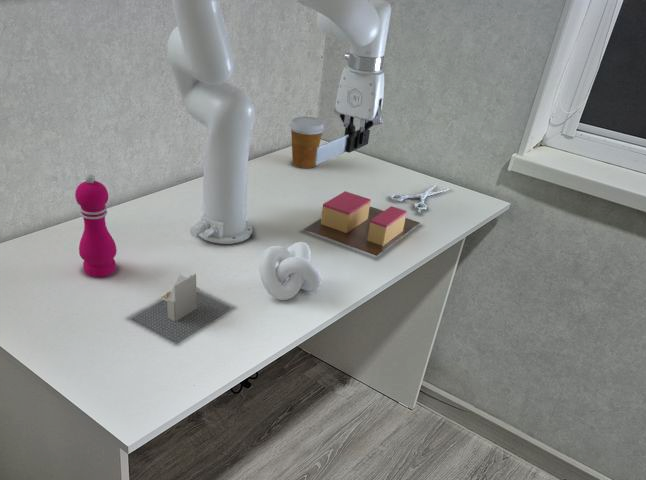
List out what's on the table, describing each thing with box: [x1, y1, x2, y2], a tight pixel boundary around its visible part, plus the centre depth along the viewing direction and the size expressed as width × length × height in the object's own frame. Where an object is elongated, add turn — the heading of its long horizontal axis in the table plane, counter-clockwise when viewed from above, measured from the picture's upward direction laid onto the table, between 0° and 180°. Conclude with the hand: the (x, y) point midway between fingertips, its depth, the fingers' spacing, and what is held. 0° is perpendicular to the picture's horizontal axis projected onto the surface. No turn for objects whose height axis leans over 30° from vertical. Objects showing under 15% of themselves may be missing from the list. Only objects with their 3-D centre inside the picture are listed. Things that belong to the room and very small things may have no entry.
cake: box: [320, 191, 372, 233], centre depth 150 cm, size 10×7×5 cm
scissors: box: [389, 184, 450, 213], centre depth 167 cm, size 11×1×20 cm
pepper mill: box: [74, 173, 117, 278], centre depth 124 cm, size 7×7×20 cm
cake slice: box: [367, 205, 408, 246], centre depth 145 cm, size 10×4×5 cm, turn 143°
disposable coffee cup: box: [289, 116, 326, 169], centre depth 179 cm, size 10×10×12 cm
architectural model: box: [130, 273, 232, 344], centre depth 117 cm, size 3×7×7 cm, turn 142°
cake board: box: [303, 205, 421, 257], centre depth 151 cm, size 22×19×1 cm
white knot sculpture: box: [259, 241, 322, 301], centre depth 124 cm, size 11×12×9 cm
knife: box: [315, 129, 371, 166], centre depth 149 cm, size 22×2×4 cm, turn 143°
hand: (353, 144), depth 153 cm, fingers closed on knife, 2 cm apart
